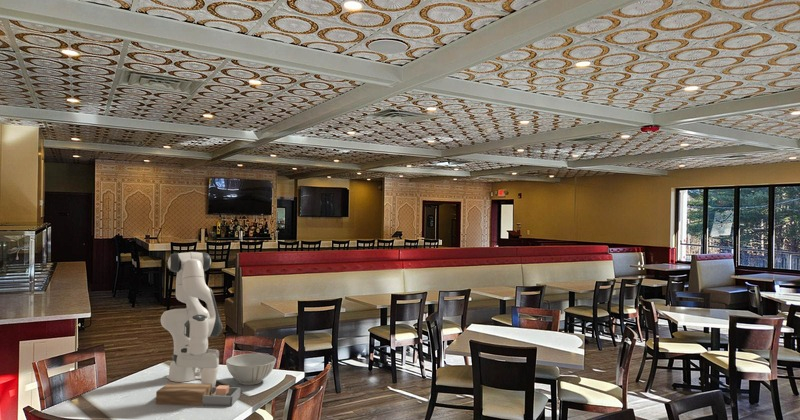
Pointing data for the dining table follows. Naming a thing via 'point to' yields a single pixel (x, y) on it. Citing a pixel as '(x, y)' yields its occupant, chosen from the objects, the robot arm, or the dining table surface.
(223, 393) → the salmon orange block
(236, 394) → the box
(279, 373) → the dining table surface
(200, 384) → the walnut platform
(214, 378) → the foam cup
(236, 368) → the decorative bowl
